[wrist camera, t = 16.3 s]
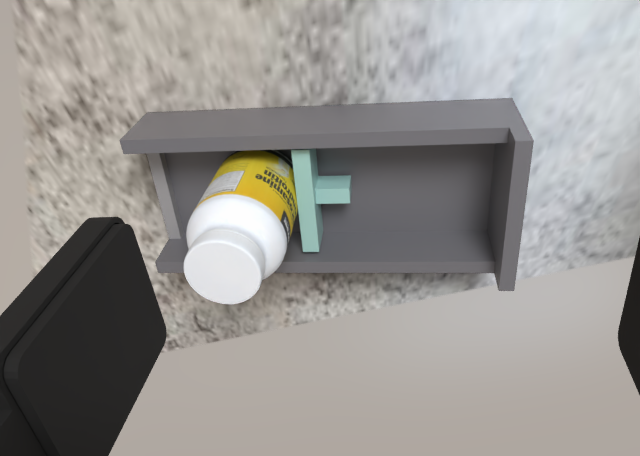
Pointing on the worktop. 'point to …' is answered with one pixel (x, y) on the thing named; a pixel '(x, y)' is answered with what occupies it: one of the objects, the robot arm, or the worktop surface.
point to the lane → (365, 180)
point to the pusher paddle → (315, 195)
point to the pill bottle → (241, 226)
